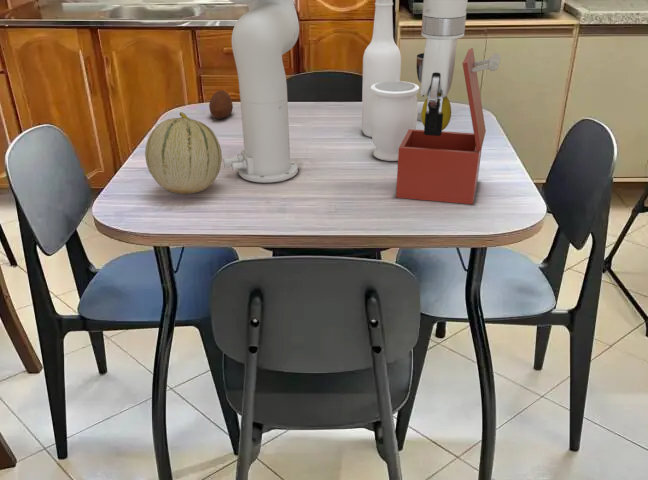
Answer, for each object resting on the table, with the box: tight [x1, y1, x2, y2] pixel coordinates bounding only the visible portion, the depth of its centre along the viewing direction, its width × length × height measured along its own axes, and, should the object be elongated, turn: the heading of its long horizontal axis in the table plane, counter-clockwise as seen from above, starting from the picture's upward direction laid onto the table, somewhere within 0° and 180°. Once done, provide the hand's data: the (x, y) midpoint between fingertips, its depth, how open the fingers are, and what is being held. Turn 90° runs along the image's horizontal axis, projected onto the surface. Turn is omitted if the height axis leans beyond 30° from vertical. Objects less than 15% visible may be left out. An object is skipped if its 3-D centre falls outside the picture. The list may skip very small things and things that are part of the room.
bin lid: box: [462, 47, 501, 152], centre depth 123 cm, size 16×12×6 cm
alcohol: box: [361, 0, 402, 138], centre depth 158 cm, size 9×9×30 cm
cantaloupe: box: [144, 111, 223, 195], centre depth 133 cm, size 15×15×15 cm
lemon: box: [420, 93, 452, 131], centre depth 127 cm, size 6×6×8 cm
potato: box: [208, 90, 234, 119], centre depth 178 cm, size 6×12×6 cm, turn 179°
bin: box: [395, 128, 483, 205], centre depth 133 cm, size 15×12×10 cm
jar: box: [370, 80, 420, 162], centre depth 148 cm, size 11×10×15 cm
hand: (434, 128), depth 129 cm, fingers closed on lemon, 5 cm apart
